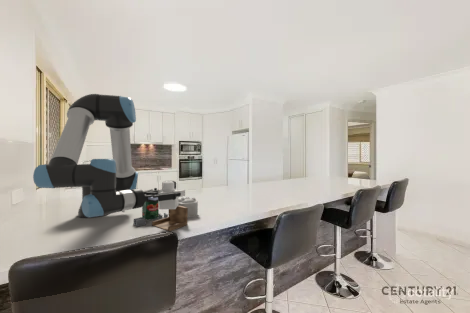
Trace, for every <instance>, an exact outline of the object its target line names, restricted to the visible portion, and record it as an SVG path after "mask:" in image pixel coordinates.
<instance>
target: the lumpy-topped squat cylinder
mask: <svg viewBox="0 0 470 313" xmlns="http://www.w3.org/2000/svg"><path fill="white" fill-rule="evenodd" d="M198 203H199V202H198V200H197V199H196V198H195V197H191V198H190V196H185V197H184V196H182V197H181V198H178V206H183V207H188V218H191V217H192V218H193V217H198V214H199V213H198V210H199V208H198V206H199V204H198Z"/></svg>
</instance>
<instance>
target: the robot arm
mask: <svg viewBox="0 0 470 313" xmlns="http://www.w3.org/2000/svg"><path fill="white" fill-rule="evenodd" d="M135 108H136V107H135V104H134V100H133V99H132V98H131V97H129V96H123V95H113V94H112V95H111V94H99V93H92V94H91V93H90V94H86V95H83V96H81V97H79V98H78V99H76V100H75V101H74V102H73V103H72V104H71V105H70V106H69V108H68V110H67V112H66V118H67V119H66V122H65V124H64V127H63V130H62V132H61V134H60V136H59V138H58V141H57V143H56V146H55V149H54V151H53V153H52V156H51V157H50V160H49V162H48V164H46V163H45V164H39V165H38V166H36V167H35V168H34V170H33V176H32V178H33V183H34V184H35V186H36V187H38V188H41V189H58V188H59V189H60V188H81V193H82V194H81V196H82V197H81V198H82V199H81V202H80V205H79V208H78V212H77V215H78V216H77V217H79V218H85V219H87V218H97V217H103V216H107V215H110V214H115V213H120V212H121V213H125V212H126V211H130V210H135V209H140V208H142V206H143V205H144V203H145V202H151V201H153V202H158V201H165V200H172V199H173V200H175V199H176V198H177V197H178V198H180V197H181V198H182V197H186V189H180V190H175V191H174V192H170V193H161V192H162V191H163V190H162V188H159V189H158V188H157V187H154V188H151V189H147V190H142V188H137V184H138V177H139V171H136V169H135V167H133V166H132V165H133V163H132V162H133V161H132V149H131V148H132V146H131V145H132V144H131V128H132V127H133V125H134V123H135V122H136V121H137V117H136V116H137V114H136V109H135ZM95 121H103V122H104V123H105V126H106V127H107V128H109V135H110V144H111V154H112V158H93V159H92V158H91V160H90V163H85V164H84V163H82V164H79V160H80V157H81V154H82V150H83V147H84V144H85V142H86V139H87V135H88V132H89V129H90V126H91V125H93V124H94V122H95Z"/></svg>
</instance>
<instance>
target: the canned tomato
mask: <svg viewBox="0 0 470 313" xmlns="http://www.w3.org/2000/svg"><path fill="white" fill-rule="evenodd" d="M159 210H160V209H159V201H158V202H153V201H151V202H145V203H144V205H143V206H142V207H141V217H143V218H145V221H155V220H158V218H159V214H160V212H159Z"/></svg>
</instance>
